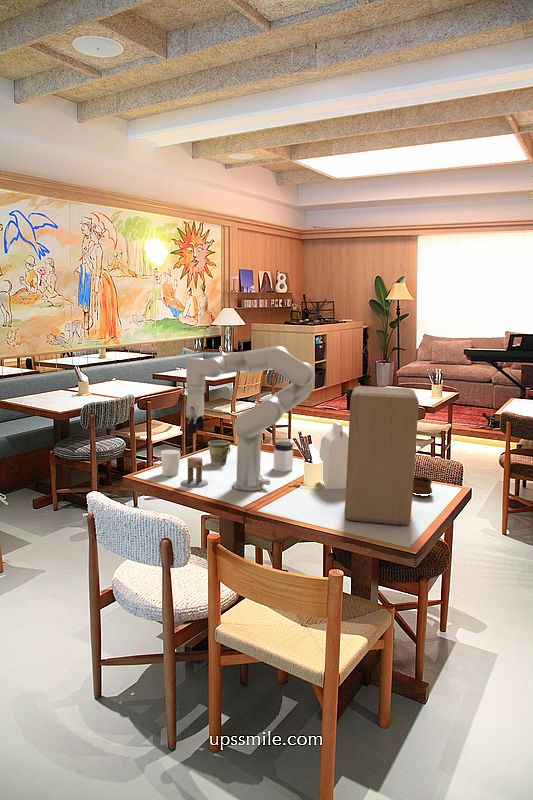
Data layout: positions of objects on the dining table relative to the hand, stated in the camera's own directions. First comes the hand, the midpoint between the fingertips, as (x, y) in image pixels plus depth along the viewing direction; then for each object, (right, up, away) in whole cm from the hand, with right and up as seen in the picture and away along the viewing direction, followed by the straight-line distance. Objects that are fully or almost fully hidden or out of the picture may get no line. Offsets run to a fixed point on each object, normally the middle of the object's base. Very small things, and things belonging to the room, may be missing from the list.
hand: (196, 430), depth 249 cm
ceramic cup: (+7, -17, +35) cm, 40 cm away
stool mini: (-1, -21, +3) cm, 22 cm away
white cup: (-13, -20, +16) cm, 28 cm away
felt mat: (-1, -22, +3) cm, 22 cm away
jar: (+36, -19, +30) cm, 50 cm away
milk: (+57, -23, +8) cm, 62 cm away
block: (+68, -29, -27) cm, 79 cm away
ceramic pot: (+90, -26, -2) cm, 94 cm away
